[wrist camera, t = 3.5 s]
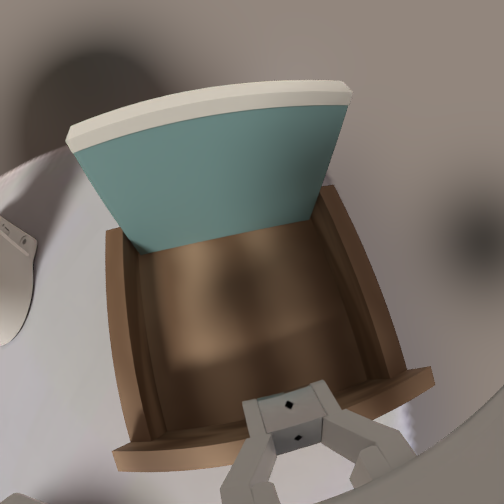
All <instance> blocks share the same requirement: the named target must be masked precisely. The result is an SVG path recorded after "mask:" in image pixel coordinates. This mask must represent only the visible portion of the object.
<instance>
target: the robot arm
mask: <svg viewBox="0 0 504 504" xmlns="http://www.w3.org/2000/svg"><path fill="white" fill-rule="evenodd" d="M36 248H37V240H36V239H35V238H33V237H32V236H30V235H28V234H27V233H25V232H24V231H22V230H21V229H19V228H18V227H16V226H15V225H13V224H11V223H10V222H9V221H7V220H6V219H4V218H3V217H1V216H0V346H2V345H5V344H7V343H8V342H10V341H11V340H12V339H13V338H14V337H15V336H16V334H17V333H18V332H19V330H20V328H21V326H22V325H23V322H24V320H25V318H26V315H27V312H28V309H29V306H30V301H31V297H32V290H33V260H34V256H35V252H36ZM256 399H257V400H256ZM256 399H252V400H247V401H242V406H243V410H244V414H245V418H246V423H247V427H248V431H249V435H250V438H247V439H246V440H245V442H244V444H243V446H242V448H241V450H240V452H239V454H238V456H237V458H236V460H235V461H234V463H233V465H232V467H231V469H230V471H229V473H228V475H227V477H226V478H225V480H224V482H223V484H222V486H221V488H220V493H221V499H222V504H280V501H279V498H278V495H277V493H276V489H275V486H274V484H273V483H271V482H268V481H269V478H270V475H271V472H272V470H273V467H274V464H275V461H276V458H277V455H281V454H284V453H287V452H291V451H294V450H297V449H300V448H304V447H307V446H311V445H314V444H317V443H320V442H321V443H322V444H324V445H325V446H327V447H328V448H330V449H331V450H333V451H335V452H336V453H338V454H340V455H341V456H343V457H345V458H346V459H348V460H350V461H351V462H353V463H355V466H354V469H353V471H352V474H351V476H350V478H349V479H350V481H351V483H352V485H353V487H354V489H353V490H350V491H348V492H345V493H343V494H340V495H338V496H335V497H332V498H330V499H327V500H324V501H321V502H318V503H315V504H504V385H503V387H501V388H500V390H499V391H498V392H497V393H496V394H495V395H494V396H493V397H492V398H490V400H488V401H487V403H485V404H484V405H483V406H482V407H481V408H480V409H479V410H478V411H476V412H475V413H474V414H473V415H472V416H471V417H470V418H468V419H467V420H466V421H465V422H464V423H463V424H461V425H460V426H459V427H457V428H456V429H455V430H454V431H452V432H451V433H450V434H448V435H447V436H446V437H444V438H443V439H442V440H440V441H439V442H437V443H436V444H434V445H433V446H432V447H430V448H429V449H427V450H426V451H424V452H423V453H421V454H420V455H418V456H417V455H416V454H415V452H414V451H413V450H412V448H411V447H410V445H409V444H408V443H407V441H406V440H405V438H404V437H403V435H402V434H401V433H400V431H398V430H396V429H393V428H390V427H388V426H385V425H383V424H380V423H378V422H375V421H373V420H370V419H368V418H366V417H363V416H361V415H359V414H356V413H354V412H352V411H350V410H347V409H344V410H342V409H341V408H340V406H339V404H338V403H337V401H336V399H335V397H334V396H333V394H332V392H331V391H330V389H329V387H328V386H327V384H326V382H325V381H324V380H320V381H317V382H314V383H311V384H307V385H303V386H300V387H297V388H294V389H291V390H287V391H284V392H282V393H278V394H274V395H270V396H265V397H261V398H256ZM0 504H47V503H44V502H41V501H39V500H36V499H33V498H31V497H28V496H26V495H24V494H20V493H14V494H12V495H10V496H9V497H7V498H6V499H5V500H3V501H2V502H1V503H0Z"/></svg>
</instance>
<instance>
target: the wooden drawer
mask: <svg viewBox="0 0 504 504" xmlns="http://www.w3.org/2000/svg"><path fill="white" fill-rule="evenodd" d="M105 265H106V295H107V311H108V323H109V333H110V341H111V349H112V357H113V363H114V370H115V376H116V381H117V387H118V392H119V397H120V401H121V406H122V410H123V415H124V419H125V423H126V427H127V430H128V434H129V438H130V441H131V442H130V443H128V444H126V445H124V446H122V447H120V448H117V449H115V450H113V451H112V453H113V456H114V460H115V463H116V466H117V469H118V471H123V472H169V471H185V470H196V469H205V468H213V467H220V466H226V465H232V464H233V463H234V461H235V460H236V458H237V456H238V454H239V452H240V450H241V448H242V446H243V444H244V442H245V440H246V439H247V438H250V435H249V431H248V427H247V423H246V418H245V414H244V410H243V406H242V401H247V400H252V399H256V398H261V397H265V396H270V395H274V394H278V393H282V392H284V391H287V390H291V389H294V388H297V387H300V386H303V385H307V384H311V383H314V382H317V381H320V380H324V381H325V382H326V384H327V386H328V387H329V389H330V391H331V392H332V394H333V396H334V397H335V399H336V401H337V403H338V404H339V406H340V408H341V409H342V410H344V409H347V410H350V411H352V412H354V413H356V414H359V415H361V416H363V417H366V418H368V419H370V420H374V419H376V418H378V417H380V416H382V415H384V414H386V413H388V412H390V411H392V410H394V409H396V408H397V407H399V406H401V405H403V404H405V403H406V402H408V401H410V400H412V399H413V398H415V397H417V396H418V395H420V394H422V393H423V392H425V391H427V390H428V389H430V388H431V387H433V386H434V385H435V382H434V377H433V373H432V370H431V366H429V367H423V368H417V369H411V370H407V368H406V364H405V361H404V357H403V354H402V351H401V347H400V344H399V341H398V338H397V335H396V331H395V328H394V325H393V322H392V319H391V317H390V314H389V311H388V308H387V305H386V303H385V300H384V297H383V294H382V292H381V289H380V287H379V284H378V281H377V279H376V276H375V274H374V272H373V269H372V266H371V264H370V262H369V259H368V257H367V255H366V252H365V250H364V248H363V245H362V243H361V241H360V239H359V236H358V234H357V232H356V230H355V228H354V225H353V223H352V221H351V219H350V217H349V215H348V213H347V211H346V209H345V207H344V205H343V203H342V201H341V199H340V197H339V195H338V193H337V191H336V189H335V187H334V185H328V186H321V189H320V192H319V194H318V197H317V200H316V203H315V205H314V208H313V211H312V214H311V216H310V219H309V220H305V221H299V222H294V223H289V224H284V225H279V226H274V227H269V228H264V229H259V230H254V231H249V232H245V233H240V234H235V235H230V236H225V237H221V238H216V239H211V240H206V241H202V242H197V243H193V244H188V245H183V246H179V247H174V248H170V249H165V250H161V251H157V252H152V253H148V254H143V255H140V254H139V252H138V251H137V249H136V248H135V247H134V245H133V244H132V243H131V241H130V240H129V239H128V237H127V236H126V234H125V233H124V232H123V230H122V229H121V227H118V228H115V229H111V230H107V231H106V249H105ZM256 400H257V399H256Z"/></svg>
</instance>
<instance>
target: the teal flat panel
mask: <svg viewBox="0 0 504 504" xmlns="http://www.w3.org/2000/svg"><path fill="white" fill-rule="evenodd" d="M352 95H353V92H352V91H351V90H350V89H349V87H348V86H347V85H346V84H345V83H344V82H343V81H331V80H282V81H263V82H251V83H240V84H232V85H223V86H216V87H209V88H203V89H197V90H192V91H187V92H182V93H177V94H172V95H167V96H163V97H159V98H155V99H151V100H147V101H143V102H140V103H136V104H132V105H129V106H126V107H122V108H119V109H116V110H113V111H110V112H107V113H104V114H101V115H98V116H95V117H93V118H90V119H88V120H85V121H82V122H80V123H77V124H75V125H72V126H71V127H70V130H69V132H68V135H67V138H66V143H67V145H68V147H69V148H70V150H71V152H72V153H73V154H74V155H75V157H76V159H77V161H78V162H79V164H80V166H81V167H82V169H83V171H84V172H85V174H86V176H87V177H88V179H89V180H90V182H91V184H92V185H93V187H94V188H95V190H96V191H97V193H98V195H99V196H100V198H101V199H102V201H103V202H104V204H105V205H106V207H107V208H108V210H109V211H110V213H111V214H112V216H113V217H114V219H115V220H116V222H117V223H118V224H119V226H120V227H121V229H122V230H123V232H124V233H125V234H126V236H127V237H128V239H129V240H130V241H131V243H132V244H133V245H134V247H135V248H136V249H137V251H138V252H139V254H140V255H143V254H148V253H152V252H157V251H161V250H165V249H170V248H174V247H179V246H183V245H188V244H193V243H197V242H202V241H206V240H211V239H216V238H221V237H225V236H230V235H235V234H240V233H245V232H249V231H254V230H259V229H264V228H269V227H274V226H279V225H284V224H289V223H294V222H299V221H305V220H309V219H310V216H311V214H312V211H313V208H314V205H315V203H316V200H317V197H318V194H319V192H320V189H321V186H322V183H323V180H324V178H325V175H326V172H327V169H328V166H329V163H330V160H331V156H332V154H333V151H334V148H335V145H336V142H337V139H338V136H339V133H340V130H341V127H342V124H343V120H344V117H345V114H346V111H347V108H348V105H350V102H351V98H352Z"/></svg>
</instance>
